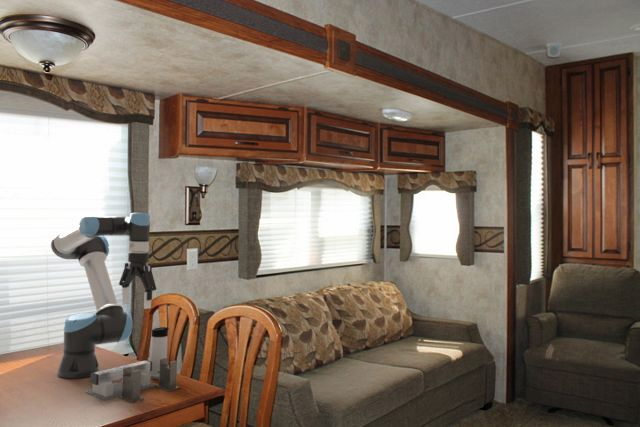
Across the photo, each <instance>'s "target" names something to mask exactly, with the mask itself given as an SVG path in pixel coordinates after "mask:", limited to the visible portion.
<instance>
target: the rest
mask: <svg viewBox="0 0 640 427" xmlns="http://www.w3.org/2000/svg"><path fill="white" fill-rule="evenodd" d="M156 385H158V384H157V383H153V382H151V373H150V372H145V373H142V374H141V386H140V391H143V390H147V389H150V388H154V387H155V386H156ZM122 387H123V381H121V382H117V383H114V382H113V381H110V382H106V383H103V384H99V385H94V384H92V389H90V390H86V391H85V394H88V395H91V396H93V397H95V398H98V399H100V400H103V401H108V400H111V399H114V398H118V396H120V395H122Z"/></svg>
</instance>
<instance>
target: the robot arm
mask: <svg viewBox="0 0 640 427" xmlns="http://www.w3.org/2000/svg"><path fill="white" fill-rule="evenodd" d="M150 219H151V216H150V214H149V213H146V212H144V213H143V212H131V213H130V214H129V216H99V215H98V216H96V215H95V216H94V215H89V216H88V215H87V216H82V217H81V218H80V220H79V223H78V225H76V226H75V227H73V228H71V229H69V230H68V231H62V232H60V233H57V234H56V235H55V236H54V237H53V238H52V240H51V243H50V248H51V251H52V252H53V254H54V255H56V256H57V257H59V258H60V259H63V260H78V263H79V265H80V266H81V267H84V271H85V274H86V277H87V281H88V284H89V288H90V291H91V295H92V298H93V302H94V306H95V309H96V312H81V313H77V314H73V315H69V316H68V317H67V318H66V319H65V320H64V328H63V353H62V357H61V360H60V363H59V365H58V368H57V376H58V377H60V378H64V379H82V378H89V377H91V373H92V372H93V373H94V372H98V371H100V365H99V362H98V359H97V355H96V345H103V344H111V343H119V342H123V341H126V340H128V339H129V338H130V336H131V334H132V331H133V325H134V324H133V317H132V314H131V313H130V312H127V311H124V308H123V306H122V305H129V304H130V301H131V300H130V298H131V296H130V295H131V286H130V285H131V283H132V281H133V280H134V278H135V277H138V278H139V279H140V281H141V282H142V283H141V284H143V288H144V289H145V291H144V293H143V294H144V297H143V298H144V299H143V309H144V310H147V309H151V308H152V299H153V292H154V291H156V290H157V286H156V282H155V279H154V274H153V268H152V265H147V263H148V262H149V253H148V252H149V251H150V228H151V222H150V221H151V220H150ZM106 236H119V237H120V236H128V241H129V242H128V252H129V253H128V254H127V255H128V256H127V261H128V262H125V263H124V268H123V271H122V274H121V277H120V279H119V282H118V285H119V286H121V288H122V305H120V304H118V301H117V298H116V294H115V291H114V288H113V285H112V282H111V278H110V276H109V271H108V269H107V266H106V263H105V261H107V257H108V256H109V253H110V248H109V247H110V244H109V241H108V239H107V237H106Z"/></svg>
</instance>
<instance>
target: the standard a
mask: <svg viewBox="0 0 640 427" xmlns="http://www.w3.org/2000/svg"><path fill="white" fill-rule="evenodd" d="M122 382H123V387H122V395H120V396H118V397H117V398H118V399H119V400H120V399H121V400H122V401H125V402H127V403H131V404H134V403H137V402H142V401H144V400H145V397H143V396H141V390H140V386H141V370H136V371H132V367H131V366H130V367H126V368H123V378H122Z"/></svg>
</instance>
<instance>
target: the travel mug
mask: <svg viewBox="0 0 640 427" xmlns="http://www.w3.org/2000/svg"><path fill="white" fill-rule="evenodd" d="M168 330H169V327H165V326H163V327H156V328H153V329H151V339H150V340H151V342H150V361H152V371H149V373H151V378H150V380H159V375H160V359H164V358H168V339H169V337H168V336H169V335H168V333H169V331H168Z"/></svg>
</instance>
